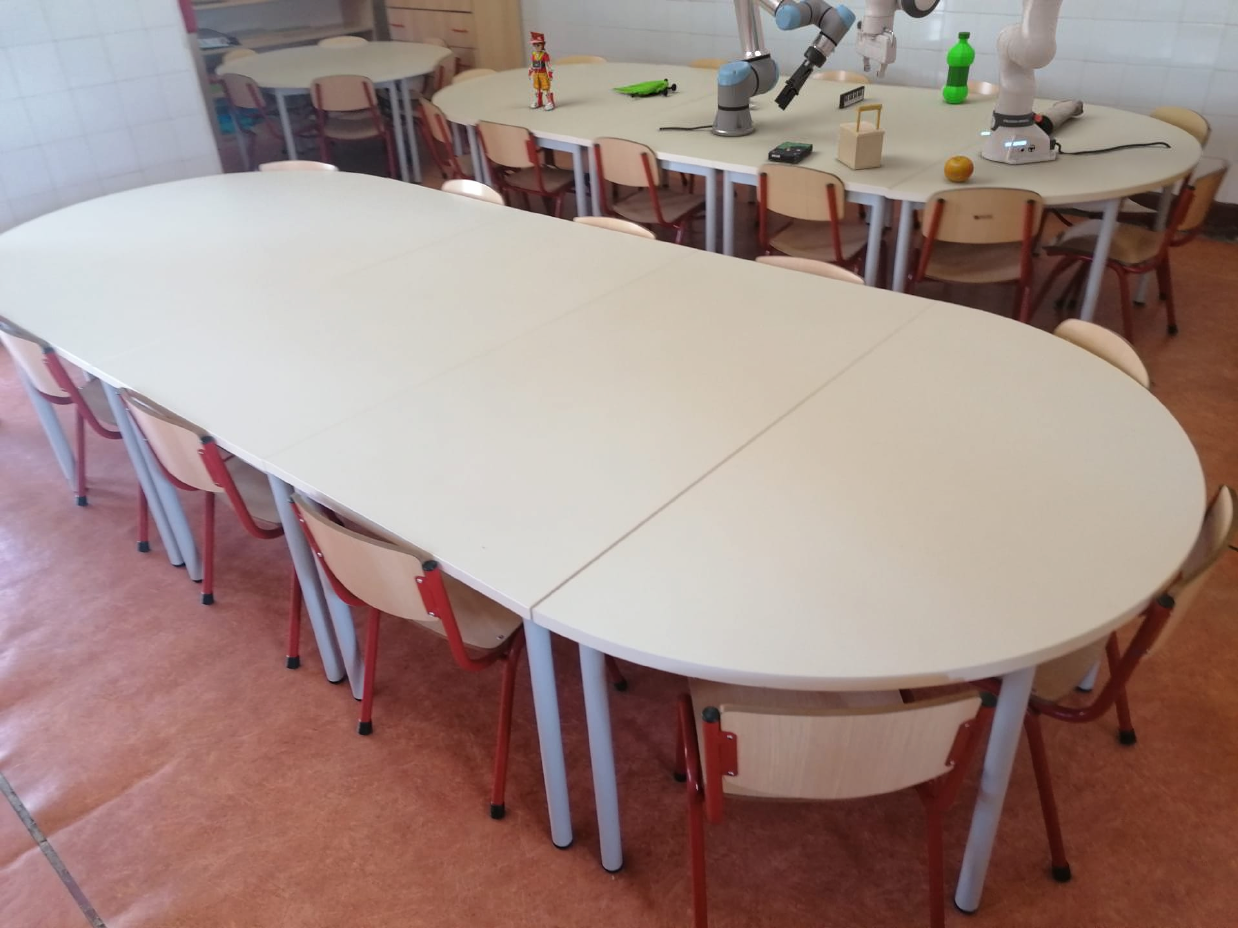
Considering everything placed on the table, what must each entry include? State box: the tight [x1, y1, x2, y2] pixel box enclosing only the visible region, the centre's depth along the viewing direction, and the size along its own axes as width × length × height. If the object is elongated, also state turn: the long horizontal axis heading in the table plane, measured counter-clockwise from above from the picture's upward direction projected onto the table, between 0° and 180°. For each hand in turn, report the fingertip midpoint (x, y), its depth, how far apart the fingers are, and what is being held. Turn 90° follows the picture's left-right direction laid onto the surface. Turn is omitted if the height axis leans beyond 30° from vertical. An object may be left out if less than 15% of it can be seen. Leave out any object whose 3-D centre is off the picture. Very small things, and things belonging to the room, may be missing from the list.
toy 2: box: [612, 78, 677, 99], centre depth 396 cm, size 28×5×30 cm
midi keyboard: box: [838, 85, 866, 109], centre depth 359 cm, size 18×1×5 cm, turn 138°
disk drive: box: [767, 141, 814, 164], centre depth 306 cm, size 10×3×15 cm
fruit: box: [943, 155, 975, 183], centre depth 275 cm, size 8×8×8 cm
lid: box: [840, 103, 886, 137], centre depth 289 cm, size 13×9×9 cm
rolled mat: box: [1035, 99, 1084, 136], centre depth 319 cm, size 30×9×10 cm
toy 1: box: [527, 31, 556, 111], centre depth 374 cm, size 12×9×30 cm
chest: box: [837, 127, 885, 171], centre depth 294 cm, size 13×9×10 cm
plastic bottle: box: [942, 31, 976, 104], centre depth 348 cm, size 10×10×25 cm
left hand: (779, 106), depth 313 cm, fingers open, 13 cm apart
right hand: (873, 74), depth 278 cm, fingers open, 8 cm apart
